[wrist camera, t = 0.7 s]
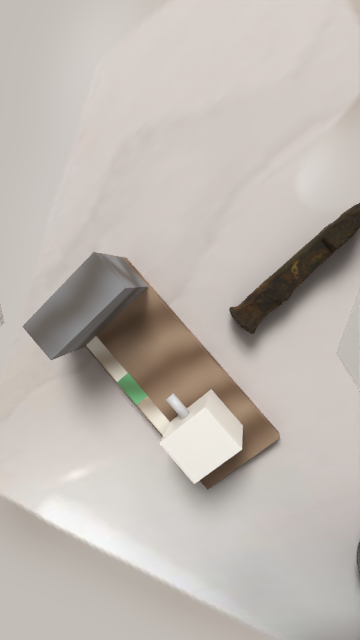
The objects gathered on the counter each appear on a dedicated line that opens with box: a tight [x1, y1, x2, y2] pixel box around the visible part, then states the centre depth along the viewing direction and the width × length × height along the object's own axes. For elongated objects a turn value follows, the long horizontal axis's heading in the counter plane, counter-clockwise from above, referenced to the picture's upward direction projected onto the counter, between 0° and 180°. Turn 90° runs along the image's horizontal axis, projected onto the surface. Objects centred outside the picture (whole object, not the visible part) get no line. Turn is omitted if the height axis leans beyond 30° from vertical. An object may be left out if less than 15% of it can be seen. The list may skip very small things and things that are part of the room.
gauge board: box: [22, 252, 280, 489], centre depth 40 cm, size 30×12×10 cm, turn 42°
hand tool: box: [229, 203, 360, 334], centre depth 37 cm, size 19×4×5 cm, turn 132°
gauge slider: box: [159, 389, 243, 484], centre depth 40 cm, size 9×10×6 cm
